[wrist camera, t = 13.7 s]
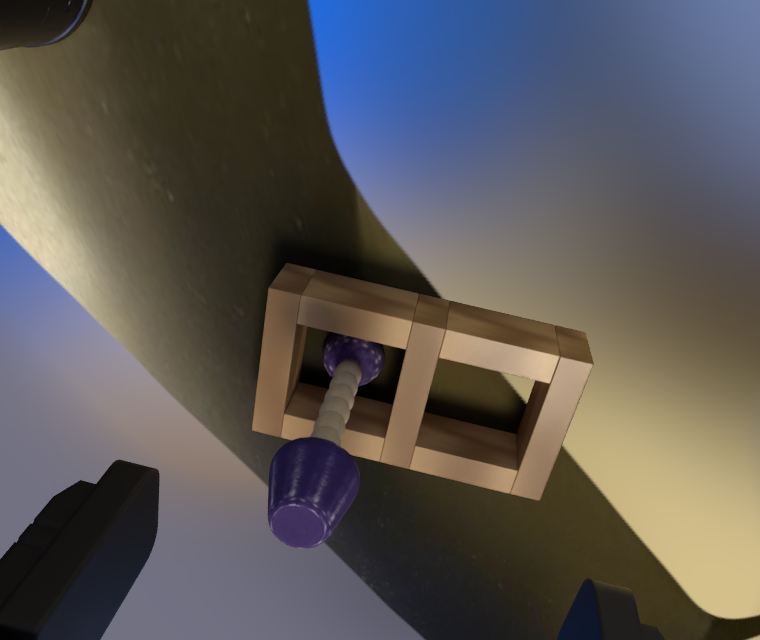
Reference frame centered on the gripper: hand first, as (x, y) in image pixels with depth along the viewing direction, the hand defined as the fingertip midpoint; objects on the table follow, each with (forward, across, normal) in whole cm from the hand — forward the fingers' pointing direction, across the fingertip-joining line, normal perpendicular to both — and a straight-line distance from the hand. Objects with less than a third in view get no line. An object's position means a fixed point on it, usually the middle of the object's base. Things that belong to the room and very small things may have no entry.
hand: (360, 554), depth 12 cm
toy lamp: (+30, +3, +14) cm, 34 cm away
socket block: (+30, -1, +14) cm, 33 cm away
